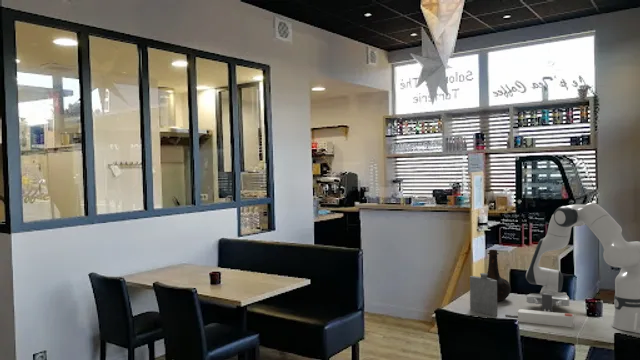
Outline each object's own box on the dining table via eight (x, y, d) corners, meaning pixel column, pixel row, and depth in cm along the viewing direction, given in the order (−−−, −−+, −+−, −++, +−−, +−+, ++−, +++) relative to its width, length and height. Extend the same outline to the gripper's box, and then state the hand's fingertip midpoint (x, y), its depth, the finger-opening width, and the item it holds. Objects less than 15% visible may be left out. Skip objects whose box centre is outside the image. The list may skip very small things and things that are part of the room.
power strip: (506, 317, 260) (506, 306, 260) (573, 323, 247) (573, 312, 246) (504, 320, 254) (504, 309, 254) (573, 327, 241) (573, 315, 241)
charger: (542, 311, 267) (542, 292, 267) (552, 312, 265) (552, 293, 265) (541, 315, 261) (541, 295, 261) (551, 316, 259) (551, 296, 259)
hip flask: (469, 309, 275) (468, 271, 274) (474, 308, 277) (473, 270, 277) (494, 316, 262) (494, 276, 261) (499, 314, 264) (499, 275, 264)
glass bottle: (500, 305, 283) (500, 253, 283) (471, 299, 296) (470, 250, 296) (516, 299, 295) (516, 249, 295) (488, 294, 308) (487, 246, 308)
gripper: (527, 289, 280) (524, 295, 268) (569, 292, 271) (569, 298, 259) (527, 301, 280) (525, 307, 268) (569, 305, 271) (569, 311, 259)
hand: (547, 303), depth 263 cm, fingers open, 8 cm apart
